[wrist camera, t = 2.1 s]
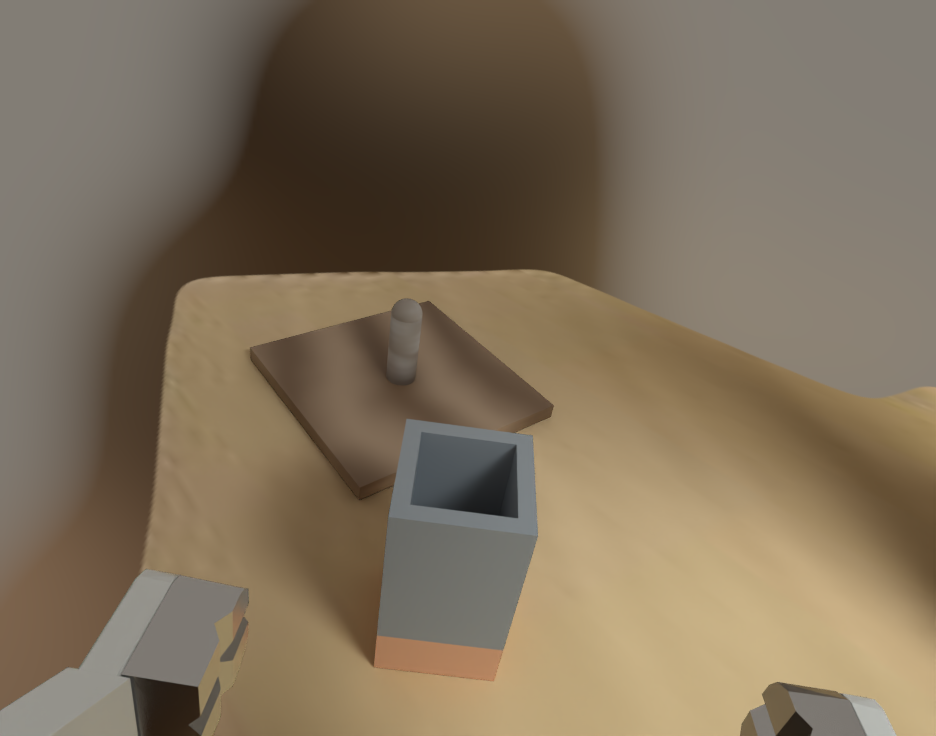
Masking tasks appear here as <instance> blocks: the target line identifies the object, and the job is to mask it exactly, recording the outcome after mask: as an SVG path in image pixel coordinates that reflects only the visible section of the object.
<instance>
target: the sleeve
mask: <svg viewBox="0 0 936 736" xmlns="http://www.w3.org/2000/svg"><path fill="white" fill-rule="evenodd" d="M537 537H538V528H537V509H536V490H535V471H534V452H533V436H532V435H525V434H517V433H510V432H502V431H495V430H487V429H480V428H472V427H465V426H457V425H450V424H442V423H435V422H427V421H420V420H412V419H406V425H405V430H404V435H403V441H402V446H401V451H400V457H399V462H398V467H397V473H396V478H395V483H394V489H393V494H392V499H391V505H390V510H389V515H388V524H387V535H386V545H385V556H384V566H383V577H382V587H381V597H380V608H379V618H378V629H377V639H376V649H375V660H374V667H377V668H386V669H394V670H403V671H412V672H420V673H429V674H437V675H446V676H454V677H463V678H471V679H480V680H488V681H494V679H495V676H496V672H497V669H498V666H499V662H500V659H501V656H502V653H503V649H504V646H505V643H506V639H507V636H508V633H509V629H510V626H511V623H512V620H513V616H514V613H515V610H516V606H517V603H518V600H519V597H520V593H521V590H522V587H523V583H524V580H525V577H526V574H527V570H528V567H529V564H530V560H531V557H532V554H533V551H534V547H535V544H536V541H537Z"/></svg>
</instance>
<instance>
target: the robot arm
mask: <svg viewBox="0 0 936 736" xmlns="http://www.w3.org/2000/svg"><path fill="white" fill-rule="evenodd" d="M248 604H249V597H248V589H247V588H242V587H237V586H232V585H227V584H222V583H217V582H212V581H207V580H201V579H196V578H191V577H186V576H181V575H177V574H172V573H166V572H161V571H155V570H150V569H145V570H144V571H143V572H142V573H141V574H140V575H139V576H138V577H137V578H136V579H135V580H134V582H133V583H132V585H131V586H130V588H129V590H128V591H127V593H126V594H125V596H124V598H123V599H122V601H121V602H120V604H119V606H118V607H117V609H116V610H115V612H114V613H113V615H112V617H111V618H110V620H109V621H108V623H107V624H106V626H105V628H104V629H103V631H102V632H101V634H100V635H99V637H98V638H97V640H96V642H95V643H94V645H93V646H92V648H91V650H90V651H89V653H88V654H87V656H86V658H85V659H84V661H83V662H82V664H81V665H80V667H79V668H70V667H67V668H66V669H64V670H62V671H61V672H59V673H58V674H57V675H55V676H53V677H51V678H50V679H48V680H47V681H45V682H44V683H42V684H41V685H39V686H38V687H36V688H34V689H33V690H31V691H30V692H28V693H27V694H25V695H23V696H22V697H20V698H19V699H17V700H16V701H14V702H12V703H11V704H9V705H8V706H6V707H5V708H3V709H2V710H0V736H213V734H214V732H215V729H216V727H217V724H218V722H219V719H220V717H221V695H222V694H223V693H225V692H226V691H227V690H228V689H230V688H231V687H232V686H233V684H234V682H235V679H236V676H237V674H238V671H239V669H240V666H241V662H242V659H243V655H244V652H245V648H246V643H247V636H248V621H247V620H246V619H245V618H244V617H243V616H244V613H245V611H246V608H247V606H248ZM762 696H763V699H764V702H765V704H764V705H762V706H760V707H757V708H755V709H753V710H750V711H749V713H748V715H747V716H746V718H745V719H744V721H743V722H742V726H741V733H740V736H896V734H895V732H894V730H893V728H892V726H891V724H890V722H889V720H888V718H887V716H886V714H885V712H884V710H883V708H882V707H881V706H880V705H879V704H878V703H877V702H876V701H875V700H874V699H870V698H867V697H861V696H854V695H848V694H841V693H838V692H836V691H831V690H824V689H818V688H812V687H806V686H800V685H793V684H787V683H781V682H776V683H773V684H770V685H769V686H768V687H767V688H766V690H765V691H764V692H763V693H762Z"/></svg>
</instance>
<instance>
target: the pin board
mask: <svg viewBox="0 0 936 736" xmlns="http://www.w3.org/2000/svg"><path fill="white" fill-rule="evenodd" d="M250 353H251V360H252V361H253V363H254V364H255V365H256V366H257V368H258V369H259V370H260V372H261V373H262V374H263V376H264V377H265V378H266V380H267V381H268V382H269V383H270V385H271V386H272V387H273V389H274V390H275V391H276V393H277V394H278V395H279V396H280V398H281V399H282V400H283V402H284V403H285V404H286V406H287V407H288V408H289V409H290V411H291V412H292V413H293V415H294V416H295V417H296V419H297V420H298V421H299V422H300V424H301V425H302V426H303V428H304V429H305V430H306V432H307V433H308V434H309V435H310V437H311V438H312V439H313V441H314V442H315V443H316V445H317V446H318V447H319V448H320V450H321V451H322V452H323V454H324V455H325V456H326V458H327V459H328V460H329V462H330V463H331V464H332V465H333V467H334V468H335V469H336V471H337V472H338V473H339V475H340V476H341V477H342V478H343V480H344V481H345V482H346V484H347V485H348V486H349V488H350V489H351V490H352V491H353V493H354V494H355V495H356V497H357V498H358V499H359V500H360V499H362V498H365V497H367V496H369V495H372V494H374V493H376V492H379V491H381V490H383V489H385V488H388V487H390V486H392V485H394V483H395V478H396V473H397V467H398V462H399V457H400V451H401V446H402V441H403V435H404V430H405V425H406V419H412V420H420V421H427V422H435V423H442V424H450V425H457V426H465V427H472V428H480V429H487V430H495V431H502V432H510V433H514V432H516V431H519V430H521V429H523V428H526V427H528V426H530V425H533V424H535V423H537V422H539V421H542V420H544V419H546V418H549V417H551V414H552V410H553V407H554V405H553V404H551V403H550V402H549V401H548V400H547V399H545V398H544V397H543V396H542V395H541V394H540V393H538V392H537V391H536V390H535V389H534V388H532V387H531V386H530V385H529V384H528V383H526V382H525V381H524V380H523V379H522V378H520V377H519V376H518V375H517V374H516V373H514V372H513V371H512V370H511V369H510V368H508V367H507V366H506V365H505V364H504V363H502V362H501V361H500V360H499V359H498V358H496V357H495V356H494V355H493V354H492V353H490V352H489V351H488V350H487V349H486V348H485V347H483V346H482V345H481V344H480V343H479V342H477V341H476V340H475V339H474V338H473V337H471V336H470V335H469V334H468V333H467V332H465V331H464V330H463V329H462V328H461V327H459V326H458V325H457V324H456V323H455V322H453V321H452V320H451V319H450V318H449V317H447V316H446V315H445V314H444V313H443V312H441V311H440V310H439V309H438V308H437V307H436V306H434V305H433V304H432V303H431V302H430V301H427V302H423V303H419V304H418V303H417V302H416V301H414V300H412V299H401V300H399V301H398V302H396V303H395V304H394V306H393V308H392V311H388V312H384V313H381V314H377V315H373V316H369V317H365V318H361V319H358V320H354V321H350V322H346V323H342V324H338V325H335V326H331V327H327V328H323V329H319V330H315V331H312V332H308V333H304V334H300V335H296V336H292V337H289V338H285V339H281V340H277V341H273V342H269V343H266V344H262V345H258V346H254V347H250Z"/></svg>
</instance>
